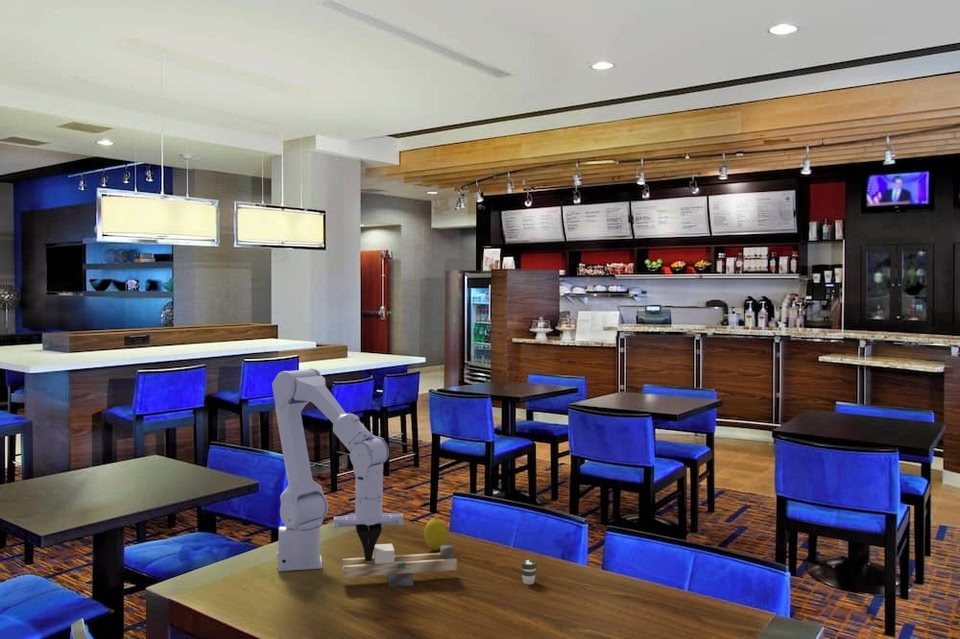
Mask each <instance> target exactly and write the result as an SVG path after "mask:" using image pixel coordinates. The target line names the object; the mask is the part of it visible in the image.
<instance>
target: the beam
mask: <svg viewBox="0 0 960 639" xmlns="http://www.w3.org/2000/svg"><path fill="white" fill-rule="evenodd" d="M439 549H440V551H439V552H433V553H432V552H431V553H430V552H429V553H416V554H415V553H414V554H394V563H383V564H375V561H374V557H373V556H372V561H365V556H364V557H352V558H351V557H350V558H342V559H341V560H342V562H341V563H342V564H341V565H342V576H343V578H344V579H345V578H354V577H370V576H385V575H386V581H387V583H388V587H389V588H397V587H410V586H414V574H417V573H430V572H431V573H433V572H444V571H448V572H449V571H457V570H458V567H457V566H458V558H455V546H453V545H452V544H451V545H450V544H444V545H443V546H441V547H440V548H439Z"/></svg>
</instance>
